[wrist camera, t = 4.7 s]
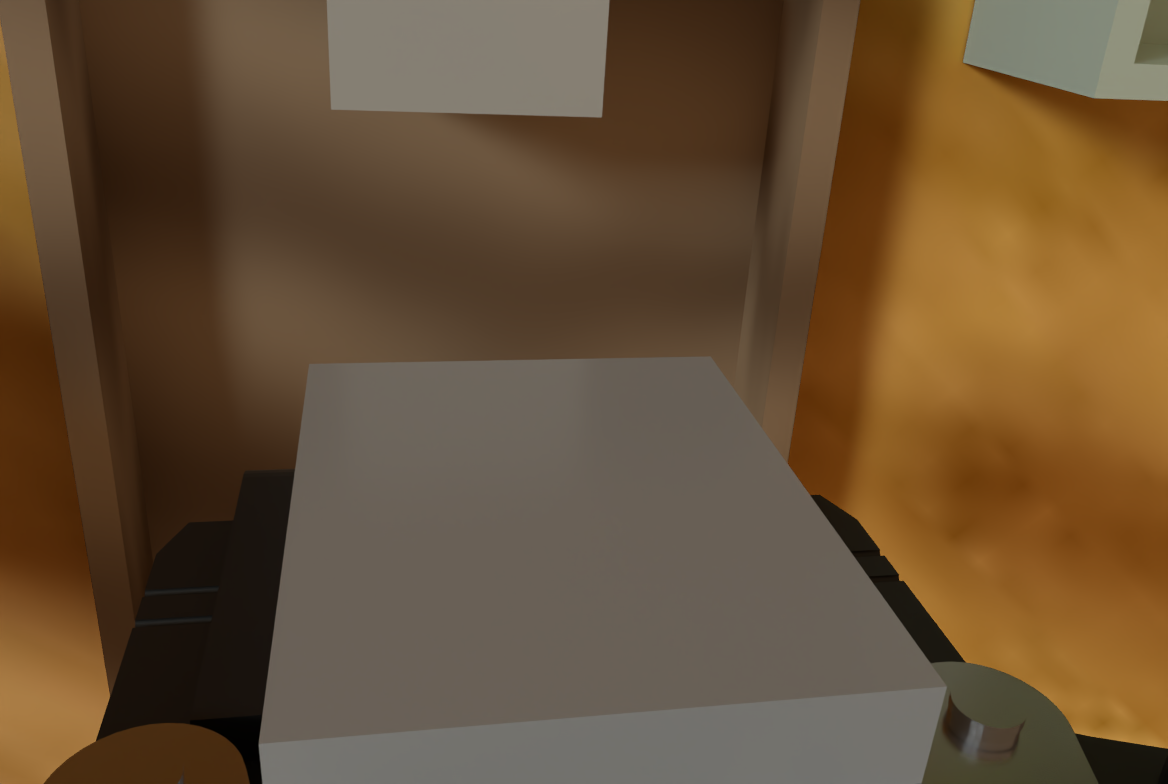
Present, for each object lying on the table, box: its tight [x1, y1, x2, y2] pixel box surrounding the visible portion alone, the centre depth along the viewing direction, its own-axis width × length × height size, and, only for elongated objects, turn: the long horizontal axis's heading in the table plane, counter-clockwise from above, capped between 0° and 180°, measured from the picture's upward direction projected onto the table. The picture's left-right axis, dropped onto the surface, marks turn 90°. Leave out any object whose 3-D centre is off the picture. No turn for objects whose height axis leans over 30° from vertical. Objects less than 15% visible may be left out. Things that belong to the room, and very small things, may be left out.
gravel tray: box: [0, 0, 860, 696], centre depth 21 cm, size 19×14×3 cm
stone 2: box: [259, 356, 947, 784], centre depth 9 cm, size 4×4×5 cm
